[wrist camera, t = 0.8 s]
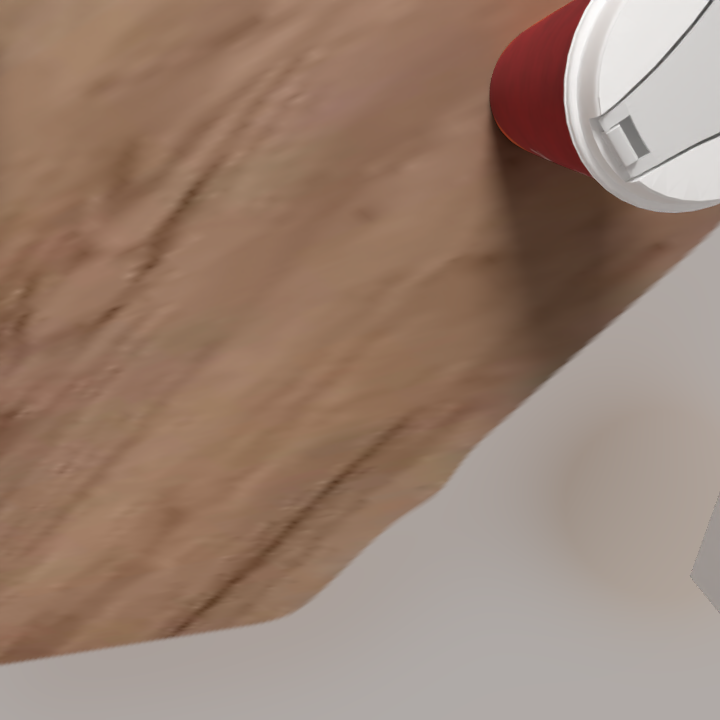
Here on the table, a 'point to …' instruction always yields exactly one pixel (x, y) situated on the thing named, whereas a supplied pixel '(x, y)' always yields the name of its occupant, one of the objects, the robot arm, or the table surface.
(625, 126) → the coffee cup
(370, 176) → the table surface
